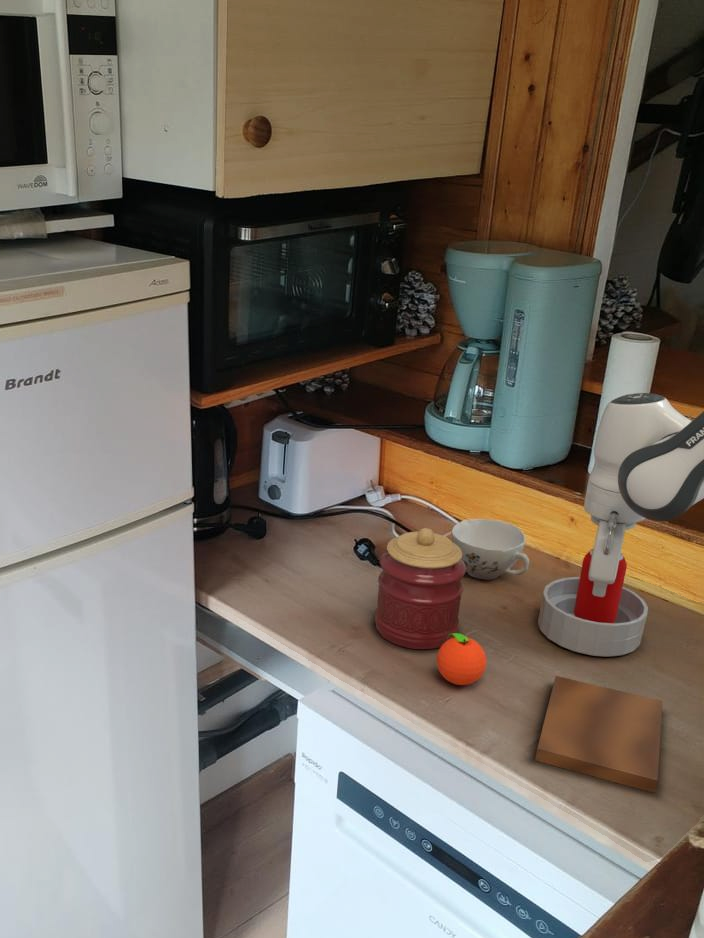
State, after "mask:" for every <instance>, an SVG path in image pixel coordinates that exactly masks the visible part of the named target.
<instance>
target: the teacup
mask: <svg viewBox="0 0 704 938" xmlns="http://www.w3.org/2000/svg"><path fill="white" fill-rule="evenodd" d="M451 541H452V542H453V543H455V544H456V545H457V546H458V547H459V548H460V549H461V551H462V558H461V559H462V560H463V562H464V563H465V566H466V572H465V573H467V574H468V575H469V576H470V577H472V578H475V579H480V580H485V581H489V580H495V579H497V578H498V577H500V576H501V575H504V574H508V575H515V576H521V575H523V574H525V573H526V572H527V571H528V570H529V567H530V558H529V556H528V555H527V554H526V553H524V552H523V550H524V549H525V544H526V534H525V533H524V532H523V530H522V529H521V528H519V527H518V526H515V525H514V524H512V523H509V522H506V521H503V520H497V519H487V518H482V517H478V518H470V519H469V518H468V519H463V520H461V521H460V522H458V523H456V524H455V525H454V526H453V528H452V530H451ZM518 560H521V561H522V562H523V563H524V567H523V568H522V569H517V570H515V569H513V570H511V569H512V568H513V566H515V564H517V562H518Z"/></svg>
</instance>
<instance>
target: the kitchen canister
mask: <svg viewBox="0 0 704 938" xmlns="http://www.w3.org/2000/svg"><path fill="white" fill-rule="evenodd" d="M461 558H462V551H461V549H460V548H459V547H458V546H457V545H456V544H455V543H453V541H452V539H451V540H450V539H449V538H448V537H447V536H444V535H442V534H439V533H435V532H434V531H433V530H432V528H429V527H423V528H421V529H420V530H417V531H409V532H405V533H403V534H401V535H399V536H396V537H394V538H392V539H390V541H389V542H387V545H386V550H385V551H384V553H382V554H381V556H380V558H379V563H380V566H381V568H382V571H381V572H380V574H378V575H379V576H378V580H377V581H378V592H377V601H376V608H375V612H374V621H375V627H376V631H377V632H378V633H379V635H381V637H382V638H384V639H385V640H386V641H388V642H390V643H392V644H395V645H397V646H400V647H404V648H406V649H407V648H408V649H414V650H431V649H432V650H433V649H438V648H441V646H442V645H443V644H444V643H445V642H446V641H448V640H449V639H451V638H455V637H454V636H453V635H452V634H451V633H458V629H459V622H460V620H459V616H460V615H459V613H460V608H461V599H462V594H463V592H464V584H463V581H462V578H463V577H464V576H465V574H466V573H467V572H466V566H465V563H464V562H463V560H462V559H461ZM449 634H451V635H450V636H449V637H448V635H449ZM447 637H448V639H447Z"/></svg>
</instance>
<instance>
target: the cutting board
mask: <svg viewBox="0 0 704 938" xmlns="http://www.w3.org/2000/svg"><path fill="white" fill-rule="evenodd" d="M662 715H663V700H659V699H655V698H651V697H647V696H644V695H638V694H634V693H630V692H627V691H623V690H617V689H613V688H610V687H606V686H601V685H597V684H592V683H588V682H585V681H580V680H576V679H571V678H566V677H564V676H563V677H562V676H559V675H555V676H554V681H553V684H552V689H551V693H550V697H549V701H548V704H547V709H546V713H545V717H544V721H543V724H542V729H541V732H540V736H539V740H538V745H537V748H536V754H535V759H534V761H536V762H539V763H542V764H547V765H550V766H554V767H558V768H561V769H565V770H568V771H572V772H575V773H579V774H583V775H586V776H591V777H594V778H597V779H601V780H605V781H609V782H612V783H615V784H619V785H623V786H626V787H630V788H634V789H637V790H641V791H645V792H649V793H653V794H655V792H656V787H657V784H658V780H659V766H660V764H659V763H660V748H661V734H662V733H661V730H662V717H663V716H662Z"/></svg>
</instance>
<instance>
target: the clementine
mask: <svg viewBox="0 0 704 938" xmlns="http://www.w3.org/2000/svg"><path fill="white" fill-rule="evenodd" d="M451 634H452V635H453V636H454V638H451V639H449V640H448V641H446V642H445V643H444V644H443V645H442V646H441V647H439V649H438V652H437V656H436V665H437V669H438V671H439V673H440V675H441V676H442V677H443V678H444V680H446V681H448V682H450V683H451V684H453V685H456V686H457V685H458V686H467V685H472V684H473V683H475V682H477V681H478V680H479V679H481V677H482V675H483V674H484V673H485V670H486V667H487V656H486V653H485V650H484V649H483V647H482V646H481V645H480V644H479V643H478V641H476V640H475V639H472V638H470V637H468V636H465V635H463V634H462V633H460V632H456V633H451ZM451 634H449V635H448V637H449V636H450V635H451ZM448 637H447V639H448Z"/></svg>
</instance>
